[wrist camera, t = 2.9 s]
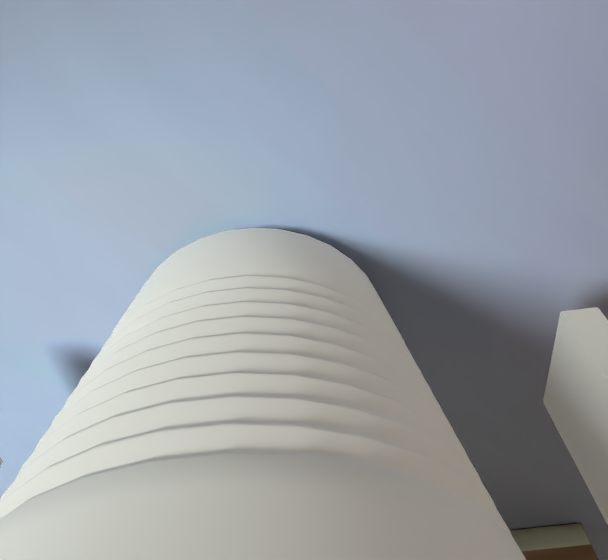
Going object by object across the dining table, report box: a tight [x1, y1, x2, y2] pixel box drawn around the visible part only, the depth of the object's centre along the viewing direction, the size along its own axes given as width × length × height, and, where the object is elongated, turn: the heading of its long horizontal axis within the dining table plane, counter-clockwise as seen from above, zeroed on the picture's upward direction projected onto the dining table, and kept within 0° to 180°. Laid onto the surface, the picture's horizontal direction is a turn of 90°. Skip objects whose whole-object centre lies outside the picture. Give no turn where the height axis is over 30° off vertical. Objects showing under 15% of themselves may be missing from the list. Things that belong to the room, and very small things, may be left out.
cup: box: [0, 228, 526, 560], centre depth 10 cm, size 10×10×11 cm
